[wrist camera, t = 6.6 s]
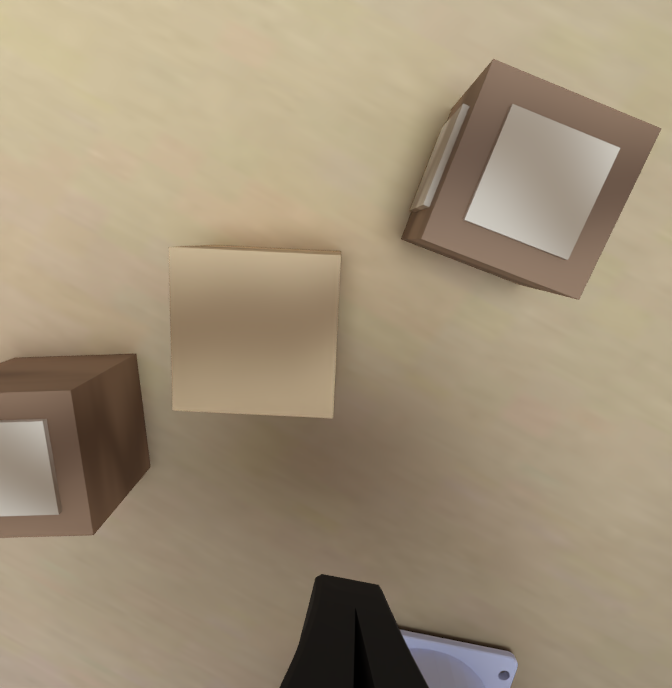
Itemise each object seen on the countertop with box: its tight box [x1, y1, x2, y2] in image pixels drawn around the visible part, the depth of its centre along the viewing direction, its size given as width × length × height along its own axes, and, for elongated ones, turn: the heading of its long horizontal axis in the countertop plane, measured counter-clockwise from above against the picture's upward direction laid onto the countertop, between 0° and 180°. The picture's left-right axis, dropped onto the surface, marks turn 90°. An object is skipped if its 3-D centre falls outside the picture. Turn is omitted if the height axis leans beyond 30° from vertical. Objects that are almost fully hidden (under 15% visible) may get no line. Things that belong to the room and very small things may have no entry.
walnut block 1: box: [0, 354, 150, 538], centre depth 18 cm, size 5×5×5 cm
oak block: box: [169, 245, 341, 418], centre depth 17 cm, size 5×5×5 cm
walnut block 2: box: [401, 59, 661, 300], centre depth 16 cm, size 5×5×5 cm
